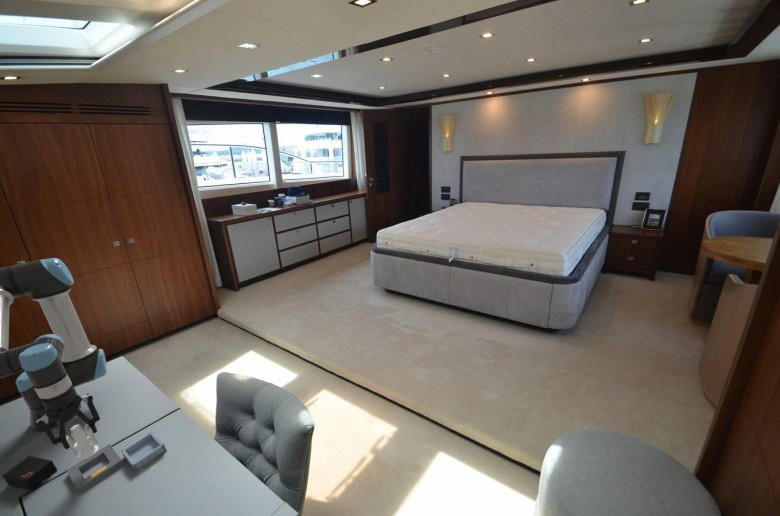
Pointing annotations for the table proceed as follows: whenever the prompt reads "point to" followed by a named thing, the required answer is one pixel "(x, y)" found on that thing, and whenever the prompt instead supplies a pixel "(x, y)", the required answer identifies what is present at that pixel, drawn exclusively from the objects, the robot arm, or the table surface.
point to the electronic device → (30, 473)
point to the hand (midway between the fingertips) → (85, 446)
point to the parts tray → (143, 451)
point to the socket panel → (99, 474)
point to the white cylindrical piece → (83, 443)
